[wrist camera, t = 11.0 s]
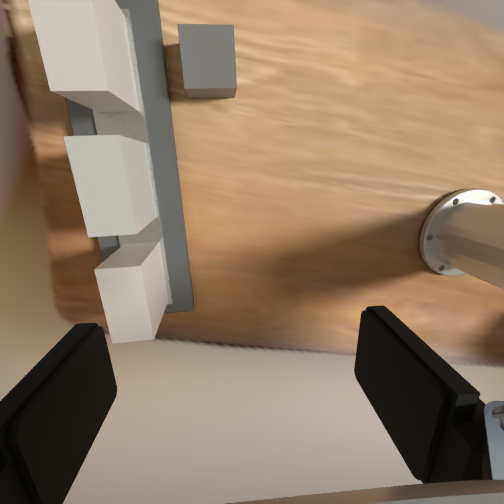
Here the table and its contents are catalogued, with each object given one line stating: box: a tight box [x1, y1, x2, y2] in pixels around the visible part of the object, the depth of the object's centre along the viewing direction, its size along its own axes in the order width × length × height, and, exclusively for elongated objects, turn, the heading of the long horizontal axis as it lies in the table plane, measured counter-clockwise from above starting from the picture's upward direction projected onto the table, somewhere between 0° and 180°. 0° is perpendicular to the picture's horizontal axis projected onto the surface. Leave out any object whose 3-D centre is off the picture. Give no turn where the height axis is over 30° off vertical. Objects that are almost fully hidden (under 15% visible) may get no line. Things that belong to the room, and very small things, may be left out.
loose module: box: [63, 135, 157, 237], centre depth 25 cm, size 4×8×8 cm, turn 2°
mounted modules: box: [28, 0, 168, 344], centre depth 25 cm, size 4×30×8 cm, turn 2°
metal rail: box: [92, 9, 173, 304], centre depth 29 cm, size 5×31×1 cm, turn 2°
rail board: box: [65, 0, 194, 313], centre depth 30 cm, size 10×34×1 cm, turn 2°
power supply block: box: [177, 24, 237, 98], centre depth 26 cm, size 5×5×4 cm
